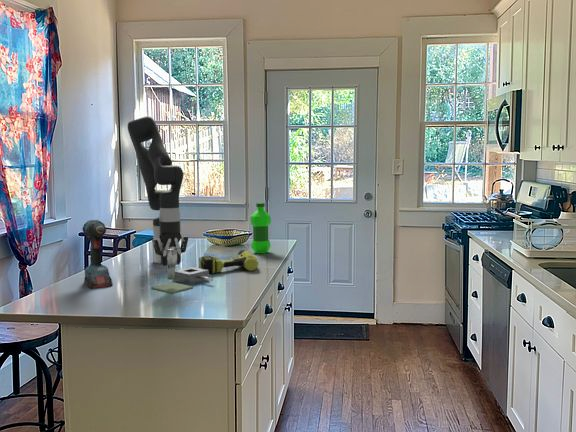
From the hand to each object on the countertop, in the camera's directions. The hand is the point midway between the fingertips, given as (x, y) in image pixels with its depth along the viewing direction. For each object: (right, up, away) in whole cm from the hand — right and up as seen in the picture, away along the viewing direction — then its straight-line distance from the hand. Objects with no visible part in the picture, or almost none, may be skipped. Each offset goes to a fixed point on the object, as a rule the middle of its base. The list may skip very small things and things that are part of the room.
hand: (171, 264), depth 214 cm
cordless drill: (+17, -5, +39) cm, 42 cm away
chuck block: (+8, -8, +11) cm, 16 cm away
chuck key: (0, -5, 0) cm, 5 cm away
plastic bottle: (+30, 0, +74) cm, 80 cm away
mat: (0, -9, +1) cm, 9 cm away
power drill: (-30, -8, +8) cm, 32 cm away
